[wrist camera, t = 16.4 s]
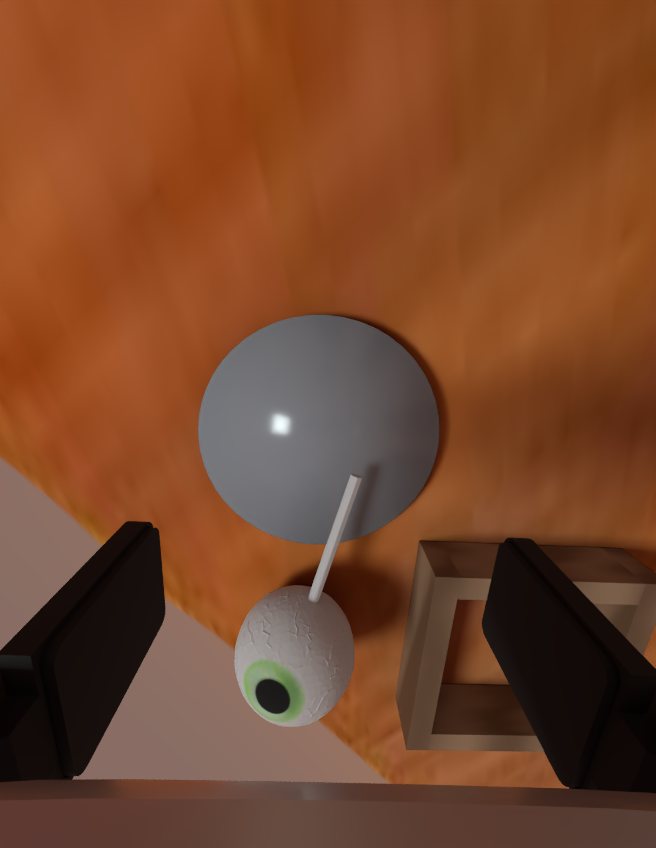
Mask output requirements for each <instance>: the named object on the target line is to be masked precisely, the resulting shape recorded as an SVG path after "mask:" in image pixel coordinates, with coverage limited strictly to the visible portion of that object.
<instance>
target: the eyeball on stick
mask: <svg viewBox="0 0 656 848" xmlns="http://www.w3.org/2000/svg"><path fill="white" fill-rule="evenodd" d="M361 480H362V477H361V476H359V475H357V474H353V473H352V474H351V475H350V478H349V481H348V484H347V487H346V490H345V492H344V495H343V498H342V501H341V504H340V507H339V510H338V512H337V515H336V518H335V521H334V524H333V527H332V530H331V533H330V535H329V538H328V541H327V544H326V547H325V550H324V553H323V556H322V558H321V561H320V564H319V567H318V570H317V573H316V576H315V579H314V581H313V584H312V587H309V586H301V585H292V586H286V587H282V588H279V589H277V590H275V591H273V592H270V593H268V594H267V595H266V596H264V597H263V598H262V599H261V600H260V601H259V602H258V603H257V604H256V605H255V606H254V607H253V608H252V609H251V610H250V612H249V613H248V615H247V616H246V618H245V620H244V622H243V625H242V627H241V629H240V632H239V635H238V638H237V642H236V646H235V663H234V664H235V671H236V676H237V680H238V683H239V686H240V689H241V692H242V694H243V696H244V697H245V699H246V701H247V702H248V703H249V705H250V706H251V707H252V709H253V710H254V711H255V712H256V713H258V714H259V715H260V716H261V717H262V718H264V719H266V720H267V721H268V722H271V723H274V724H277V725H280V726H286V727H296V726H303V725H308V724H310V723H313V722H314V721H316V720H318V719H320V718H321V717H323V716H324V715H326V714H327V713H328V712H329V711H330V710H331V709H332V708H333V707H334V706H335V705H336V704H337V702H338V701H339V700H340V699H341V697H342V695H343V694H344V692H345V690H346V688H347V686H348V684H349V682H350V678H351V674H352V671H353V667H354V641H353V635H352V631H351V627H350V624H349V622H348V620H347V617H346V615H345V614H344V612H343V611H342V609H341V608H340V607H339V605H338V604H337V603H336V602H335V601H334V600H333V599H332V598H331V597H330V596H329V595H327V594H325V593H324V592H322V590H323V587H324V584H325V581H326V578H327V576H328V573H329V570H330V567H331V564H332V561H333V559H334V556H335V553H336V550H337V547H338V545H339V542H340V539H341V536H342V533H343V530H344V528H345V525H346V522H347V519H348V516H349V514H350V511H351V508H352V505H353V502H354V499H355V497H356V494H357V491H358V488H359V485H360V483H361Z"/></svg>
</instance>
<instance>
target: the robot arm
mask: <svg viewBox="0 0 656 848" xmlns="http://www.w3.org/2000/svg"><path fill="white" fill-rule="evenodd" d="M164 616H165V597H164V585H163V573H162V561H161V549H160V537H159V530H158V529H157V528H153V525H152V523H150V522H137V521H128V522H126V523H124V524H123V525H122V526H121V528H120V529H119V530H118V531H117V532H116V533H115V534H114V535H113V536H112V537H111V538H110V539H109V540H108V541H107V542H106V543H105V544H104V545H103V546H102V547H101V548H100V549H99V550H98V551H97V552H96V553H95V554H94V555H93V556H92V557H91V558H90V559H89V560H88V561H87V562H86V563H85V565H83V566H82V567H81V569H80V570H79V571H78V572H77V573H76V574H75V575H74V576H73V577H72V578H71V579H70V580H69V581H68V582H67V583H66V584H65V585H64V586H63V587H62V588H61V589H60V590H59V591H58V592H57V593H56V594H55V595H54V596H53V597H52V598H51V599H50V600H49V601H48V603H47V604H45V606H43V608H41V609H40V611H39V612H38V613H37V614H36V615H35V616H34V617H33V618H32V619H31V620H30V621H29V622H28V623H27V624H26V625H25V626H24V627H23V628H22V629H21V630H20V631H19V632H18V633H17V634H16V635H15V636H14V637H13V638H12V639H11V640H10V641H9V642H8V643H7V644H6V645H5V646H4V647H3V648H2V650H0V848H656V669H655V668H654V667H653V666H652V665H651V664H650V663H649V662H648V661H647V659H646V658H645V657H644V656H643V655H642V654H641V653H640V652H639V651H638V650H637V649H636V648H635V647H634V646H633V645H632V644H631V643H630V642H629V641H628V640H627V639H626V638H625V636H624V635H623V634H622V633H621V632H620V631H619V630H618V629H617V628H616V627H615V626H614V625H613V624H612V623H611V622H610V621H609V620H608V619H607V618H606V617H605V616H604V614H603V613H602V612H601V611H600V610H599V609H598V608H597V607H596V606H595V605H594V604H593V603H592V602H591V601H590V600H589V599H588V598H587V597H586V596H585V595H584V594H583V593H582V591H581V590H580V589H579V588H578V587H577V586H576V585H575V584H574V583H573V582H572V581H571V580H570V579H569V578H568V577H567V576H566V575H565V574H564V573H563V572H562V571H561V570H560V568H559V567H558V566H557V565H556V564H555V563H554V562H553V561H552V560H551V559H550V558H549V557H548V556H547V555H546V554H545V553H544V552H543V551H542V550H541V549H540V548H539V547H538V545H537V544H536V543H535V542H534V541H532V540H531V539H528V538H507V539H506V540H505V542H504V543H500V545H499V547H498V551H497V556H496V560H495V565H494V569H493V574H492V578H491V583H490V587H489V592H488V596H487V601H486V605H485V610H484V614H483V619H482V628H483V632H484V635H485V637H486V639H487V641H488V643H489V645H490V647H491V649H492V651H493V653H494V655H495V657H496V659H497V661H498V663H499V665H500V667H501V668H502V670H503V672H504V674H505V676H506V678H507V680H508V682H509V684H510V686H511V688H512V690H513V692H514V694H515V696H516V698H517V700H518V702H519V703H520V705H521V707H522V709H523V711H524V713H525V715H526V717H527V719H528V721H529V723H530V725H531V727H532V729H533V731H534V733H535V735H536V736H537V738H538V740H539V742H540V744H541V746H542V748H543V750H544V752H545V754H546V756H547V758H548V760H549V762H550V764H551V766H552V768H553V770H554V771H555V773H556V775H557V777H558V779H559V780H560V782H561V783H562V784H563V785H564V786H566V787H569V788H570V789H560V788H525V787H489V786H454V785H415V784H371V783H369V784H368V783H324V782H322V783H321V782H274V781H209V780H208V781H207V780H144V779H115V780H114V779H110V780H109V779H107V780H104V779H103V780H72V779H73V777H74V776H79V775H81V774H82V773H83V771H84V770H85V769H86V767H87V765H88V763H89V762H90V760H91V758H92V756H93V754H94V752H95V750H96V748H97V746H98V745H99V743H100V741H101V739H102V737H103V735H104V733H105V731H106V729H107V727H108V726H109V724H110V722H111V720H112V718H113V716H114V714H115V712H116V711H117V709H118V707H119V705H120V703H121V701H122V699H123V697H124V695H125V693H126V692H127V689H128V688H129V686H130V684H131V682H132V680H133V678H134V676H135V674H136V673H137V671H138V669H139V667H140V665H141V663H142V661H143V659H144V657H145V655H146V654H147V652H148V650H149V648H150V646H151V644H152V642H153V640H154V639H155V637H156V635H157V633H158V631H159V629H160V627H161V625H162V623H163V620H164Z"/></svg>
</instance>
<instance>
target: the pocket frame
mask: <svg viewBox="0 0 656 848" xmlns="http://www.w3.org/2000/svg"><path fill="white" fill-rule="evenodd" d="M499 545H500V544H492V543H465V542H438V541H419V546H418V552H417V559H416V566H415V573H414V579H413V586H412V593H411V599H410V606H409V613H408V619H407V626H406V633H405V640H404V646H403V653H402V660H401V666H400V673H399V680H398V687H397V693H396V701H397V706H398V711H399V716H400V721H401V725H402V730H403V735H404V740H405V745H406V750H458V751H531V752H544V750H543V748H542V746H541V744H540V742H539V740H538V738H537V736H536V735H535V733H534V731H533V729H532V727H531V725H530V723H529V721H528V719H527V717H526V715H525V713H524V711H523V709H522V707H521V705H520V703H519V702H518V700H517V698H516V696H515V694H514V692H513V690H512V688H511V686H510V685H470V684H441V681H442V676H443V671H444V666H445V661H446V655H447V650H448V645H449V640H450V635H451V630H452V624H453V619H454V614H455V609H456V604H457V599H461V600H487V596H488V592H489V587H490V583H491V578H492V574H493V569H494V565H495V560H496V556H497V551H498V547H499ZM538 547H539V548H540V549H541V550H542V551H543V552H544V553H545V554H546V555H547V556H548V557H549V558H550V559H551V560H552V561H553V562H554V563H555V564H556V565H557V566H558V567H559V568H560V570H561V571H562V572H563V573H564V574H565V575H566V576H567V577H568V578H569V579H570V580H571V581H572V582H573V583H574V584H575V585H576V586H577V587H578V588H579V589H580V590H581V591H582V593H583V594H584V595H585V596H586V597H587V598H588V599H589V600H590V601H591V602H592V603H593V604H594V605H595V606H596V607H597V608H598V609H599V610H600V611H601V612H602V613H603V614H604V616H605V617H606V618H607V619H608V620H609V621H610V622H611V623H612V624H613V625H614V626H615V627H616V628H617V629H618V630H619V631H620V632H621V633H622V634H623V635H624V636H625V638H626V639H627V640H628V641H629V642H630V643H631V644H632V645H633V646H634V647H635V648H636V649H637V650H638V651H639V652H640V653H641V654H642V655H643V654H644V652H645V649H646V646H647V644H648V641H649V639H650V636H651V634H652V631H653V628H654V626H655V623H656V574H655V573H654V572H653V571H651V570H650V569H649V568H647V567H646V566H645V565H643V564H642V563H641V562H639V561H638V560H637V559H635V558H634V557H633V556H631V555H630V554H629V553H627V552H626V551H625V550H623V549H622V548H599V547H573V546H546V545H538Z"/></svg>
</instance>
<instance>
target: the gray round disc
mask: <svg viewBox="0 0 656 848" xmlns="http://www.w3.org/2000/svg"><path fill="white" fill-rule="evenodd" d="M198 436H199V444H200V451H201V455H202V459H203V463H204V466H205V468H206V471H207V473H208V476H209V478H210V480H211V481H212V483H213V485H214V487H215V489H216V490H217V492H218V493H219V494H220V496H221V497H222V498H223V500H224V501H225V502H226V503H227V504H228V505H229V506H230V507H231V508H232V509H233V510H234V512H235V513H237V514H238V515H239V516H240V517H242V518H243V519H244V520H245V521H247V522H248V523H250V524H251V525H253V526H255V527H256V528H258V529H260V530H262V531H264V532H266V533H268V534H270V535H273V536H276V537H279V538H282V539H285V540H289V541H293V542H298V543H307V544H327V541H328V538H329V535H330V533H331V530H332V527H333V524H334V521H335V518H336V515H337V512H338V510H339V507H340V504H341V501H342V498H343V495H344V492H345V490H346V487H347V484H348V481H349V478H350V475H351V474H352V473H353V474H357V475H359V476H361V477H362V480H361V483H360V485H359V488H358V491H357V494H356V497H355V499H354V502H353V505H352V508H351V511H350V514H349V516H348V519H347V522H346V525H345V528H344V530H343V533H342V536H341V539H340V542H345V541H349V540H353V539H357V538H359V537H362V536H364V535H367V534H370V533H372V532H374V531H376V530H378V529H379V528H381V527H383V526H385V525H386V524H388V523H389V522H391V521H392V520H394V519H395V518H396V517H397V516H398V515H400V514H401V513H402V512H403V511H404V510H405V509H406V508H407V507H408V506H409V505H410V504H411V503H412V502H413V500H414V499H415V498H416V497H417V495H418V494H419V492H420V491H421V489H422V488H423V486H424V485H425V483H426V481H427V479H428V477H429V475H430V473H431V470H432V467H433V465H434V462H435V458H436V454H437V449H438V443H439V415H438V410H437V405H436V400H435V397H434V394H433V391H432V389H431V386H430V384H429V382H428V380H427V378H426V376H425V374H424V372H423V371H422V369H421V368H420V367H419V365H418V364H417V362H416V361H415V359H414V358H413V357H412V356H411V355H410V354H409V353H408V352H407V351H406V350H405V349H404V348H403V347H402V346H401V345H400V344H398V343H397V342H396V341H395V340H394V339H392V338H391V337H390V336H388V335H386V334H385V333H383V332H381V331H380V330H378V329H376V328H374V327H372V326H369V325H367V324H365V323H362V322H360V321H356V320H352V319H349V318H345V317H339V316H331V315H306V316H299V317H293V318H289V319H286V320H282V321H279V322H275V323H273V324H271V325H269V326H266V327H264V328H262V329H260V330H258V331H257V332H255V333H253V334H252V335H250V336H249V337H247V338H245V339H244V340H243V341H242V342H241V343H240V344H238V345H237V346H236V347H235V348H234V349H233V350H232V351H231V352H230V353H229V354H228V355H227V356H226V357H225V358H224V360H223V361H222V362H221V363H220V365H219V366H218V368H217V369H216V371H215V372H214V374H213V376H212V378H211V380H210V382H209V384H208V386H207V388H206V391H205V394H204V397H203V400H202V403H201V409H200V415H199V429H198Z"/></svg>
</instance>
